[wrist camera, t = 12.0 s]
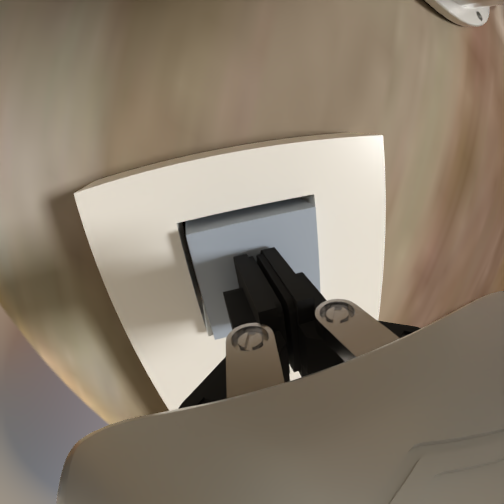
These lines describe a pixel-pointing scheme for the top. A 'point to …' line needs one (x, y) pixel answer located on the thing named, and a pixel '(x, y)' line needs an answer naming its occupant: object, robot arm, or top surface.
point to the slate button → (250, 248)
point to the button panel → (218, 201)
